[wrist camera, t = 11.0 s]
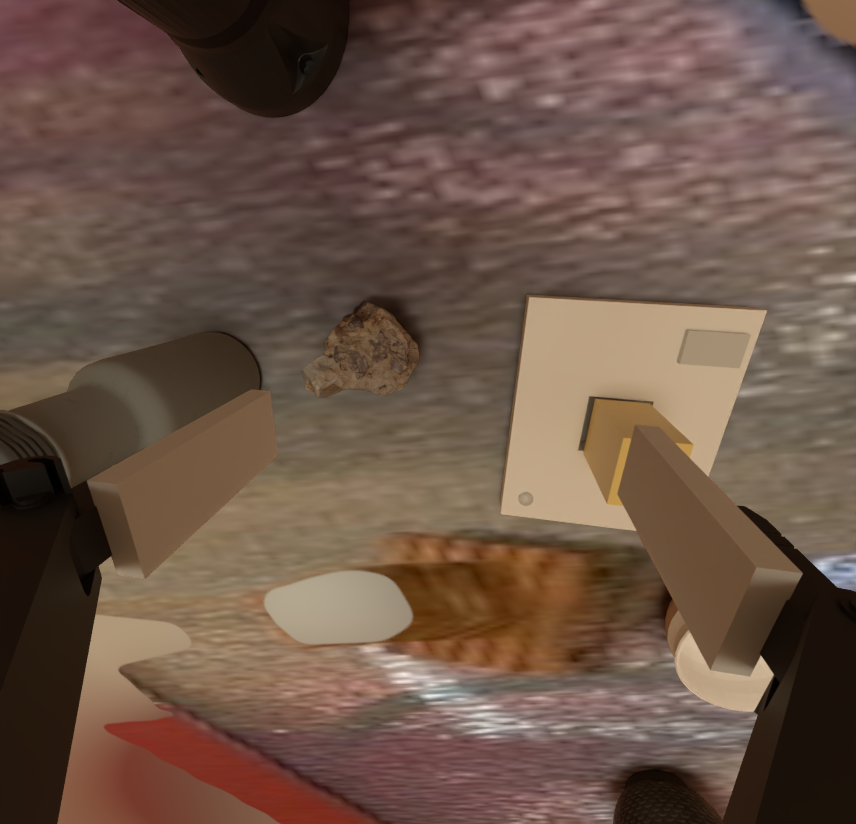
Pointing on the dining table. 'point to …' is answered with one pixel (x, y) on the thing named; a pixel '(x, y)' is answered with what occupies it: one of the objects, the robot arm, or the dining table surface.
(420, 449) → the dining table surface
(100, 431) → the water bottle
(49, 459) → the robot arm
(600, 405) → the plug
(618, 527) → the socket plate
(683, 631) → the bowl
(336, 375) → the rock
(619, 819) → the planter
